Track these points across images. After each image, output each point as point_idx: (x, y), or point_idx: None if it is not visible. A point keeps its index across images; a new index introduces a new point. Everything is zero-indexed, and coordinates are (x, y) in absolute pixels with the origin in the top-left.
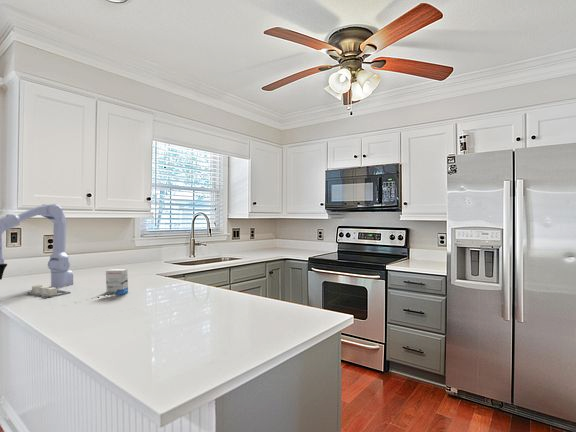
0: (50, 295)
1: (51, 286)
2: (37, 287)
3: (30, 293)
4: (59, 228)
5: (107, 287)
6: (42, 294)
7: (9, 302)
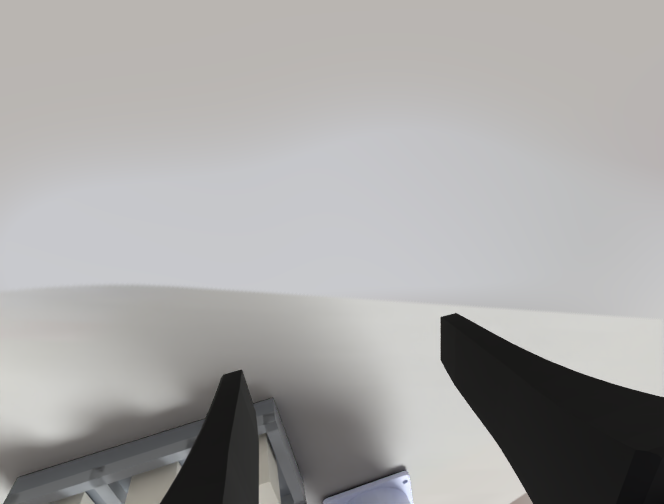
0: None
1: (377, 502)
2: None
3: None
4: None
5: None
6: (134, 481)
7: (175, 312)
